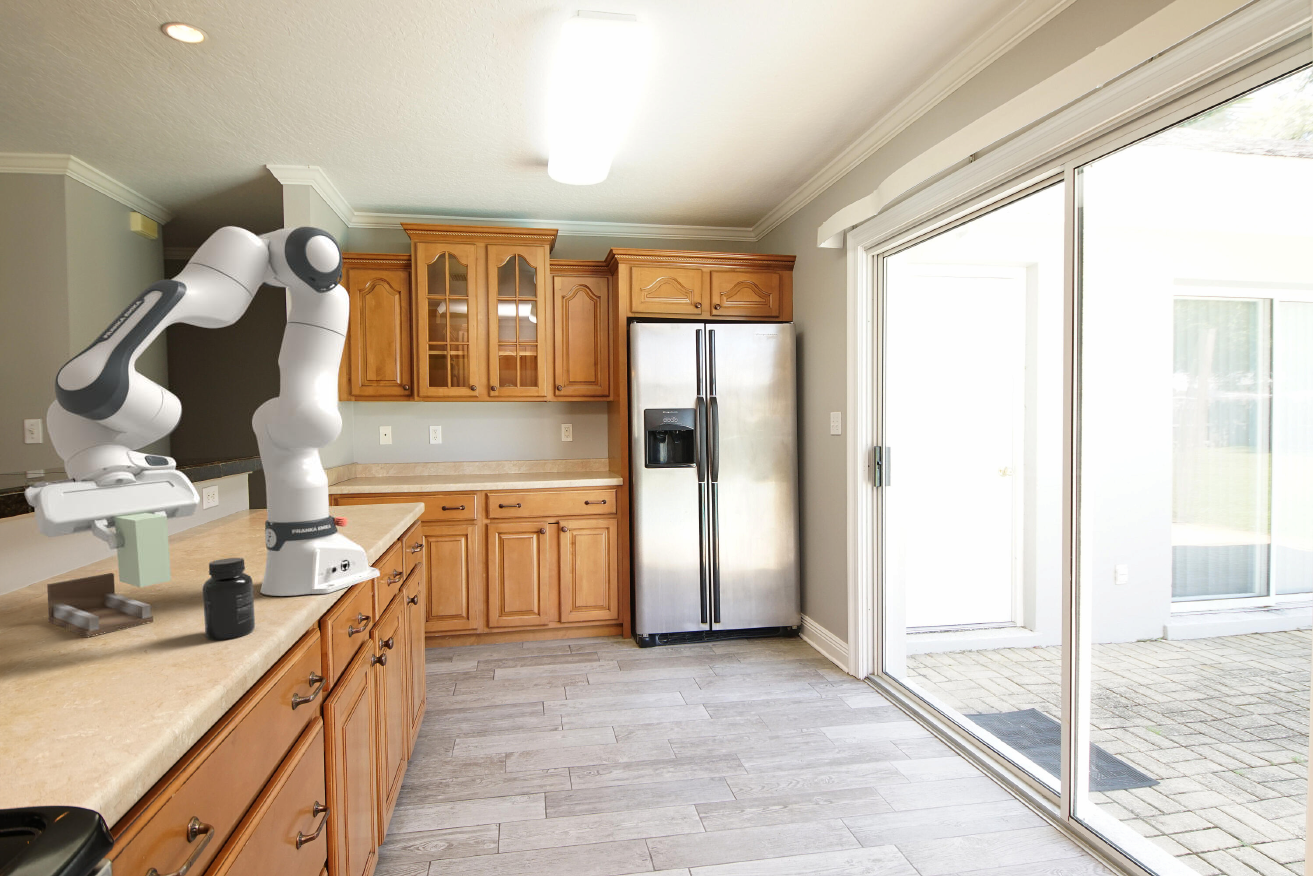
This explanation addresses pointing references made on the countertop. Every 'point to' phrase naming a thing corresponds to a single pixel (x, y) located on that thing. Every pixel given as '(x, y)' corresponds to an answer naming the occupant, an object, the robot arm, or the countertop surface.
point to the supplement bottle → (228, 600)
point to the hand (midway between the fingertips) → (140, 542)
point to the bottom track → (94, 606)
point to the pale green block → (143, 549)
